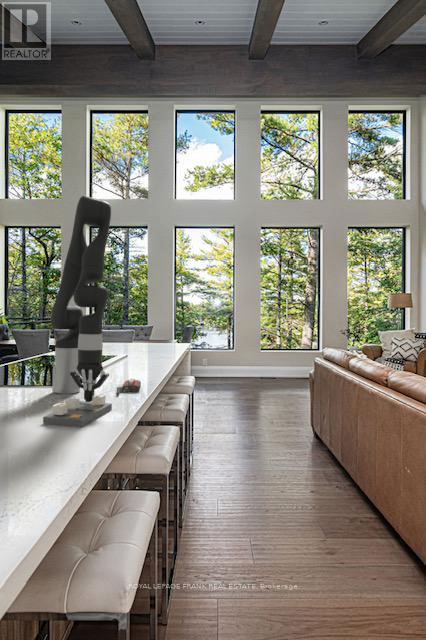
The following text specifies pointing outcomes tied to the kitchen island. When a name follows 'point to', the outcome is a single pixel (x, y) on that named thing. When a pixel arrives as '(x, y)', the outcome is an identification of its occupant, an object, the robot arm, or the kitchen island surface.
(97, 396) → the tab back
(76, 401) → the tab middle
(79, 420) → the switch panel
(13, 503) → the kitchen island surface
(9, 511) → the kitchen island surface
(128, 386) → the walkie-talkie
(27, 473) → the kitchen island surface
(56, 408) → the tab front
